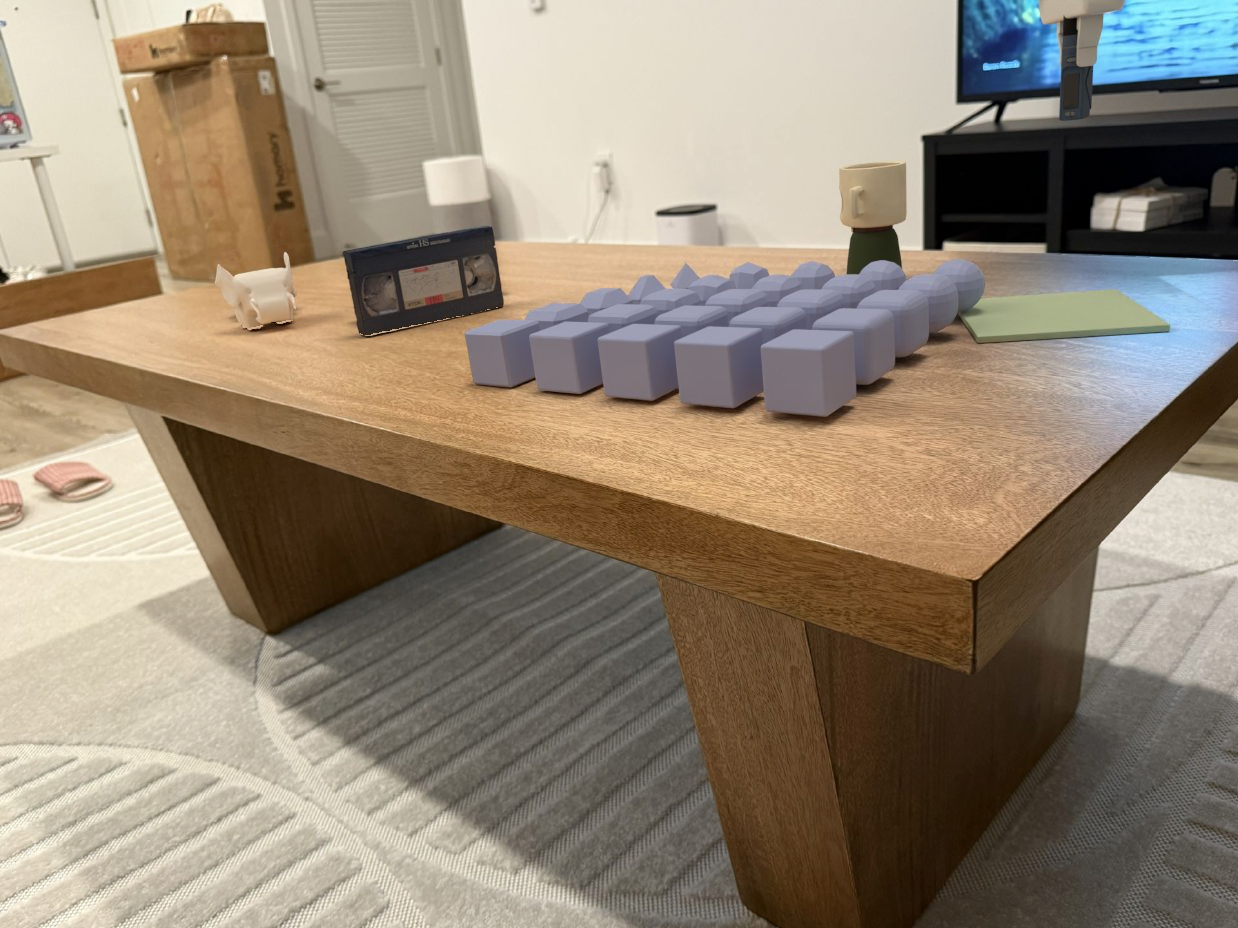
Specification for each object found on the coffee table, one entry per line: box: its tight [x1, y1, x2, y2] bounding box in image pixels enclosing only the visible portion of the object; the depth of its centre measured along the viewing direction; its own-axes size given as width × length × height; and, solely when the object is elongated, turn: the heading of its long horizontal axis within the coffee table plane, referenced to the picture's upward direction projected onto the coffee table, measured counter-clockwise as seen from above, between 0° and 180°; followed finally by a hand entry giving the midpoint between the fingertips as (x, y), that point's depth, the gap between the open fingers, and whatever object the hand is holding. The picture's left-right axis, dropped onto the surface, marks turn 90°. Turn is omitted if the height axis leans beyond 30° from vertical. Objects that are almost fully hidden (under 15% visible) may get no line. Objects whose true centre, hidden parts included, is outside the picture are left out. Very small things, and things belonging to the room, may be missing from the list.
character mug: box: [838, 160, 907, 274], centre depth 110 cm, size 11×7×13 cm, turn 143°
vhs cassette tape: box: [342, 225, 505, 335], centre depth 118 cm, size 18×3×10 cm, turn 123°
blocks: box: [464, 258, 986, 418], centre depth 90 cm, size 35×34×5 cm
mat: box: [957, 288, 1171, 344], centre depth 89 cm, size 15×15×1 cm
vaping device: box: [1058, 16, 1094, 122], centre depth 102 cm, size 3×5×12 cm, turn 145°
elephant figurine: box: [214, 251, 298, 328], centre depth 126 cm, size 10×12×9 cm
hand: (1077, 67), depth 103 cm, fingers closed on vaping device, 5 cm apart
